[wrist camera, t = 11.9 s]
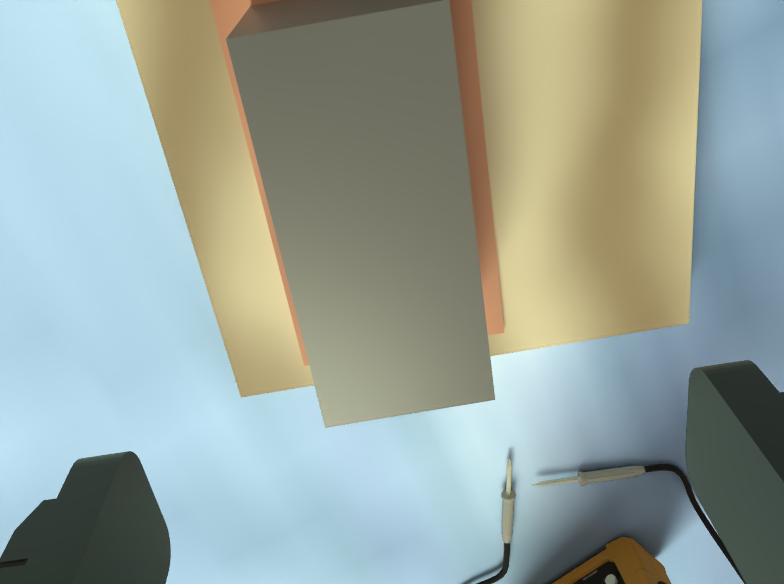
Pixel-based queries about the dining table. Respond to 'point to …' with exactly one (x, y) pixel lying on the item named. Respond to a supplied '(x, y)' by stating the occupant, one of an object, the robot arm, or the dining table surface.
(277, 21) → the block
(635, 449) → the dining table surface
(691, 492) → the multimeter
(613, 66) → the board
